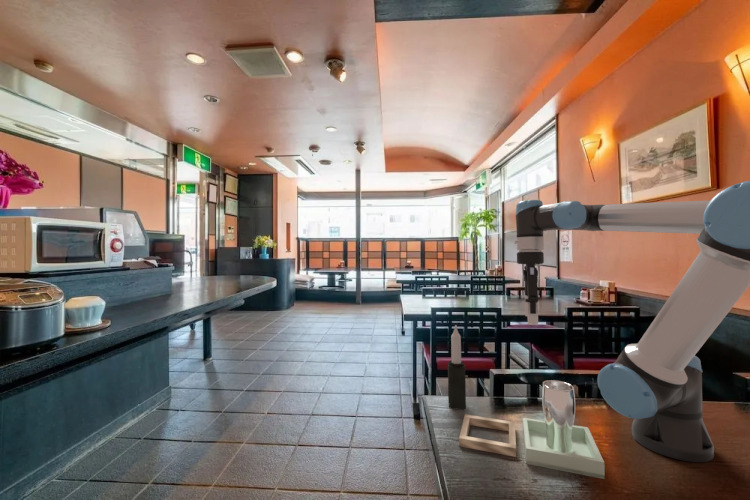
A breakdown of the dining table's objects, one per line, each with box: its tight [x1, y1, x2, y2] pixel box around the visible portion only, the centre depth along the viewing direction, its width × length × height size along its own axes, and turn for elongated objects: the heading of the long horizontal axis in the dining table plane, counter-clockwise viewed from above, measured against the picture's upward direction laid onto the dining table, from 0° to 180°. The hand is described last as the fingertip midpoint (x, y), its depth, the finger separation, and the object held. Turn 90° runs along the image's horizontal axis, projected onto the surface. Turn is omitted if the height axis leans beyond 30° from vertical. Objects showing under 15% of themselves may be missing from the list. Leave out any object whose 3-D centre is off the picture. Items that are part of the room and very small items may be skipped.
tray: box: [522, 417, 606, 480], centre depth 80 cm, size 15×15×4 cm
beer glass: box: [541, 379, 576, 454], centre depth 80 cm, size 7×7×15 cm
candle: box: [447, 324, 467, 410], centre depth 105 cm, size 5×5×25 cm
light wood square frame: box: [458, 413, 517, 458], centre depth 87 cm, size 13×13×2 cm
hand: (531, 320), depth 103 cm, fingers open, 13 cm apart
